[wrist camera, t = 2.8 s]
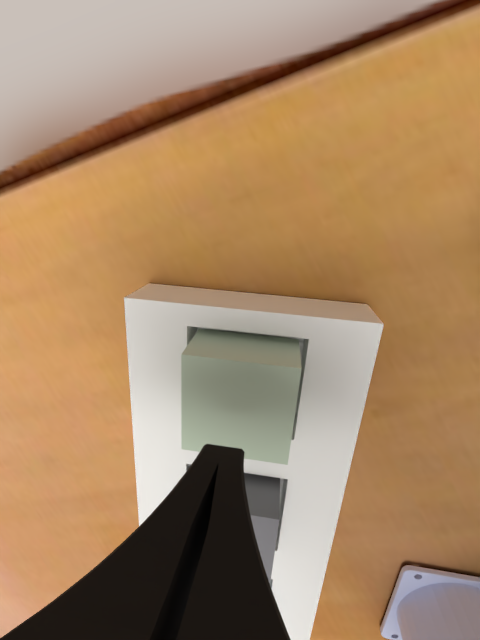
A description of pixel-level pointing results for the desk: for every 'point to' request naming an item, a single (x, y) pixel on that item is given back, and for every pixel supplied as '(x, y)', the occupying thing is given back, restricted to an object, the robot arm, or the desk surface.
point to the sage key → (240, 393)
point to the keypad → (309, 423)
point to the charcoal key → (264, 514)
